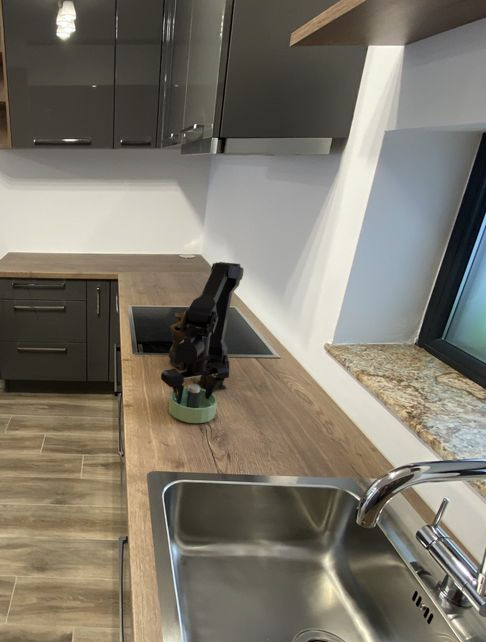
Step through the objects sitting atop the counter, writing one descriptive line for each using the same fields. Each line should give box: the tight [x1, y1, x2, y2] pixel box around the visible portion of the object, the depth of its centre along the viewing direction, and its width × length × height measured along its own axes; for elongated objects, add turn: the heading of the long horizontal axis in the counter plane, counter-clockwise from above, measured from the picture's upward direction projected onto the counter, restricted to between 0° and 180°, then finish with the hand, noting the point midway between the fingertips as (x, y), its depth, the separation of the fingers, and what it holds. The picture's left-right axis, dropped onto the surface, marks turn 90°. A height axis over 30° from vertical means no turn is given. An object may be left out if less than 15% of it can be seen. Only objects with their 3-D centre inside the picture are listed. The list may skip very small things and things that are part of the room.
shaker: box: [186, 383, 202, 408], centre depth 126 cm, size 4×4×8 cm
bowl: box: [168, 386, 218, 424], centre depth 127 cm, size 13×13×5 cm
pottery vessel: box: [168, 310, 196, 371], centre depth 156 cm, size 25×11×20 cm, turn 164°
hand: (192, 401), depth 127 cm, fingers open, 9 cm apart
